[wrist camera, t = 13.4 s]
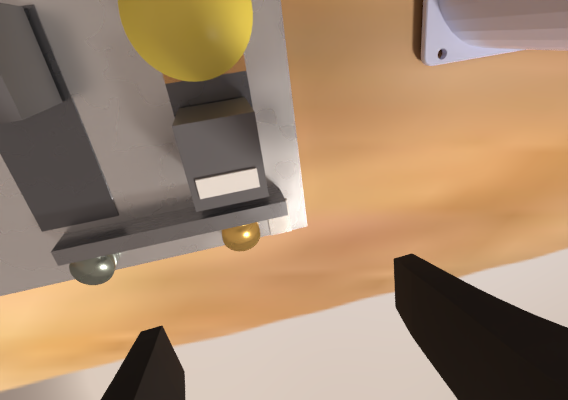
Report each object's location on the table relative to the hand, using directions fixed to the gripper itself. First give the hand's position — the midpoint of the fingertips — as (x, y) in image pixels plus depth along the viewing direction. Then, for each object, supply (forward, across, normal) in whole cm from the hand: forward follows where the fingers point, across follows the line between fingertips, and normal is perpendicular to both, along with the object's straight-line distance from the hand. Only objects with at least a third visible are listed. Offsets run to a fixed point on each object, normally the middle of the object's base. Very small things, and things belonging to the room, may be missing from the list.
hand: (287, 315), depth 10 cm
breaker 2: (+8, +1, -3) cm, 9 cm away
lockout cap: (+9, +1, -9) cm, 12 cm away
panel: (+10, +6, -5) cm, 13 cm away
